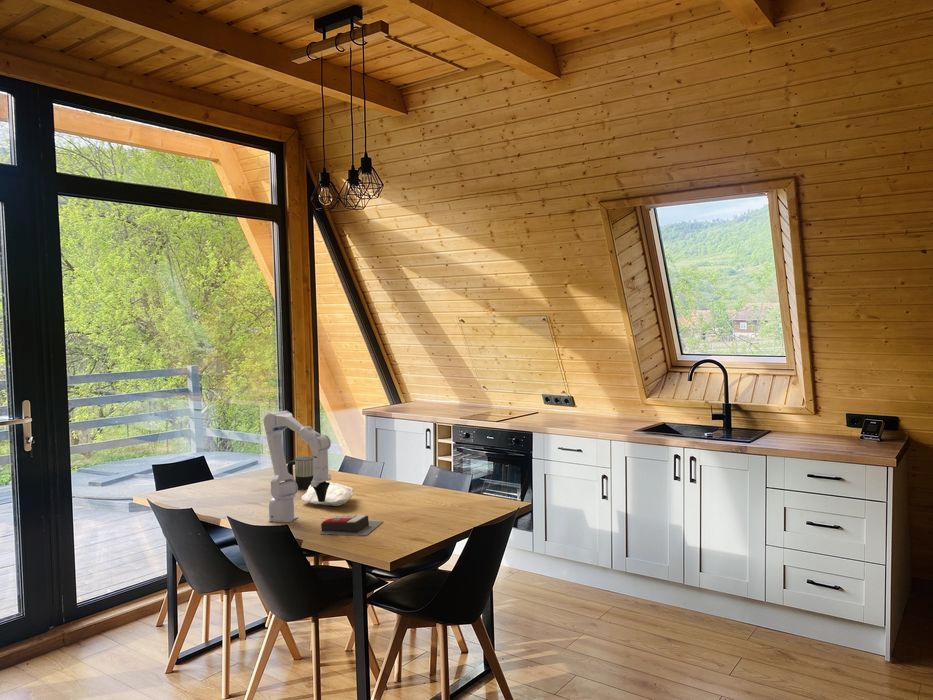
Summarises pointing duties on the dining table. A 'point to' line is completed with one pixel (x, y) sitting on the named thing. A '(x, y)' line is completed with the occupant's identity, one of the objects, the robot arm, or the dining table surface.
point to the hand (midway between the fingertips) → (321, 501)
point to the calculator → (345, 523)
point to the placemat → (363, 532)
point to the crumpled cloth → (330, 495)
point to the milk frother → (302, 471)
